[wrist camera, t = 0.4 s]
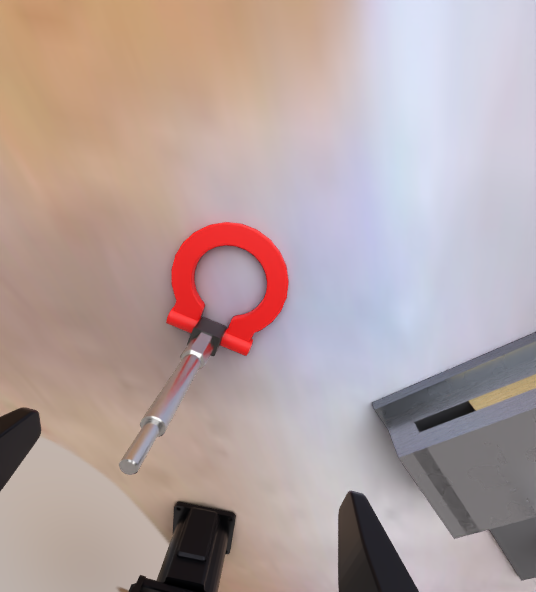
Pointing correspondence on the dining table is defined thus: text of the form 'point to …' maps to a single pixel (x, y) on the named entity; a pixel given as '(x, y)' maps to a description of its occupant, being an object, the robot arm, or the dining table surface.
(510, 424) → the windowed slide housing
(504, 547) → the rubber mat
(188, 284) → the tow hook
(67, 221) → the dining table surface
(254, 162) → the dining table surface
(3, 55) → the dining table surface
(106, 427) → the dining table surface
